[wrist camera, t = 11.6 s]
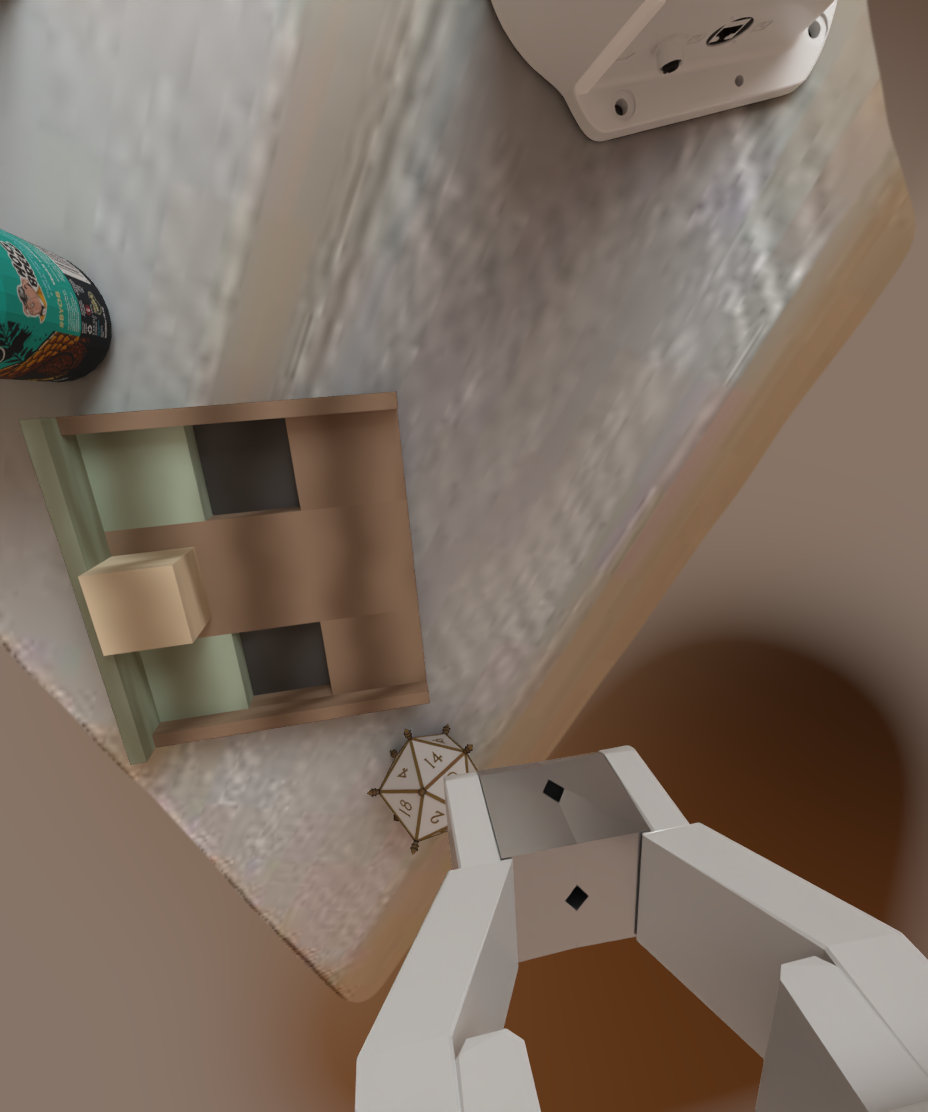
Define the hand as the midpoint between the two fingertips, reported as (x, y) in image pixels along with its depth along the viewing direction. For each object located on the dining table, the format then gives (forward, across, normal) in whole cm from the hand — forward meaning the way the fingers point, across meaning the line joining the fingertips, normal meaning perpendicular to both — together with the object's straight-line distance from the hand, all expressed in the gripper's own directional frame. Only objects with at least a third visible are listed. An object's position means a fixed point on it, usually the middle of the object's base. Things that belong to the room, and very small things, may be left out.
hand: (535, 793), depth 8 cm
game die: (+30, +1, +23) cm, 38 cm away
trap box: (+30, +11, +5) cm, 32 cm away
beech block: (+28, +17, +5) cm, 33 cm away
